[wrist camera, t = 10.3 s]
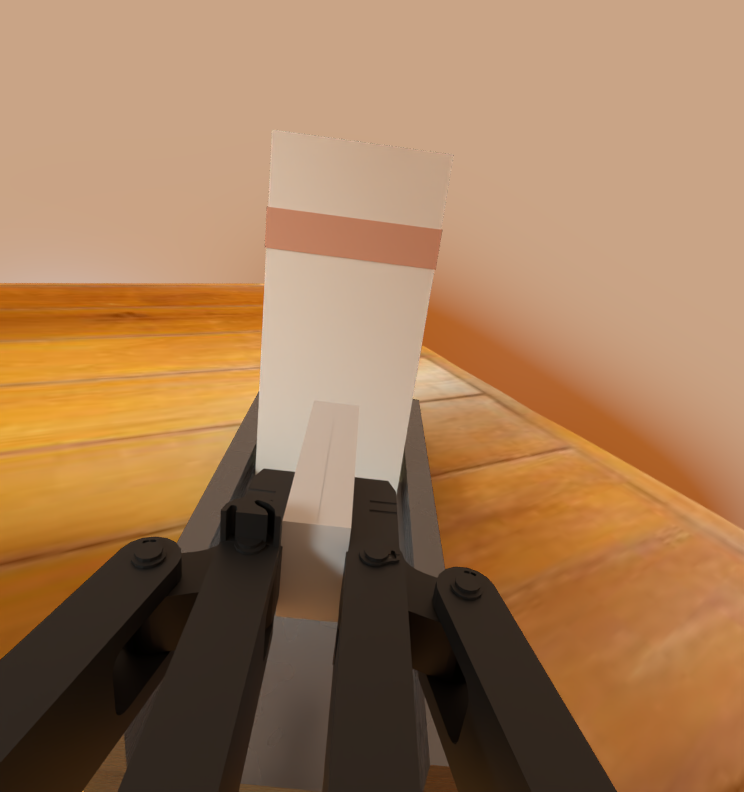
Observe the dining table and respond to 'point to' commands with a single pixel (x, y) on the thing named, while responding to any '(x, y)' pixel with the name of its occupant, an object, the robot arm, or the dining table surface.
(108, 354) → the dining table surface
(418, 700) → the chute
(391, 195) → the block
